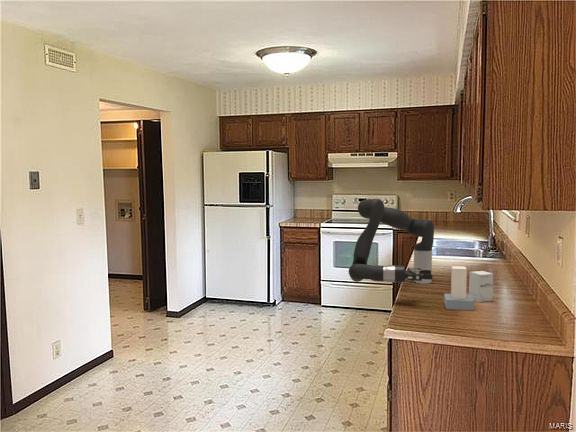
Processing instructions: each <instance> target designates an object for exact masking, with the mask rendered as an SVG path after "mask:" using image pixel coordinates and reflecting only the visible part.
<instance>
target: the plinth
mask: <svg viewBox="0 0 576 432" xmlns="http://www.w3.org/2000/svg"><path fill="white" fill-rule="evenodd" d="M443 303H444V306H445V309H446V310H457V311H458V310H459V311H475V301H474V300H473V299H472V297H471V295H469V294H467V293H466V299H452V296H451V293H444V294H443Z"/></svg>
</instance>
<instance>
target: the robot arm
mask: <svg viewBox="0 0 576 432" xmlns="http://www.w3.org/2000/svg"><path fill="white" fill-rule="evenodd" d="M357 211H358V213H359V215H360V216H361V217H362V218H364V219H368V223H367V225H366V227H365V228H364V230H363V231H362V232H361V234H360V235H359V236H358V239H357V240H356V243H355V246H354V251H353V259H352V264H351V266H349V268H348V275H349V277H350V279H351V280H352V281H354V282H356V283H357V282H358V283H359V282H362V281H363V280H370V281H372V282H386V283H406V279H407V281H412V282H414V283H415V282H416V284H419V285H420V284H422V285H426V284H427V285H429V284H432V280H433V274H432V273H433V271H432V268H433V246H434V245H433V244H434V237H435V226H434V225H435V224H434V222H433V221H432V220H431V219H421V218H420V219H419V218H413V217H410V216H409V215H408V213H406V211H403V210H400V209H399V208H394V207H386V206H385V203H384V201H383V200H382V199H380V198H366V199H363V200H361V201H360V202H359V203H358V206H357ZM380 224H383V225H386V226H389V227H391V228H394V229H396V230H397V229H398V230H401V231H405V232H407V233H409V234H411V235H412V236H414V237H418V238H419V237H420V238H421V241H420V242H417V243H415V244H414V245H413V268H412V267H410V268H406V266H405V265H402V264H401V265H399V264H398V265H397V264H396V265H395V264H394V265H392V264H391V265H390V264H388V265H371V264H368V261H369V258H370V253H371V249H372V245H373V241H374V238H375V236H376V234H377V231H378V229H379V226H380Z"/></svg>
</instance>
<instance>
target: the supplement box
mask: <svg viewBox="0 0 576 432" xmlns="http://www.w3.org/2000/svg"><path fill="white" fill-rule="evenodd" d="M468 279H469V283H468V285H469V288H468V295H471V297H472V299H473V300H474V302H477V303H481V302H483V303H484V302H493V289H494V287H493V286H494V285H493V284H494V273H491V272H489V271H485V270H478V271H477V270H476V271H469V278H468Z"/></svg>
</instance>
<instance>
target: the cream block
mask: <svg viewBox="0 0 576 432" xmlns="http://www.w3.org/2000/svg"><path fill="white" fill-rule="evenodd" d="M467 270H468V269H467V267H466V266H460V265H459V266H457V265H456V266H453V265H451V272H450V273H451V274H450V275H451V276H450V277H451V281H450V294H451V296H452V299H466V294H467V277H468V276H467V275H468V274H467V272H468V271H467Z"/></svg>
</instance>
